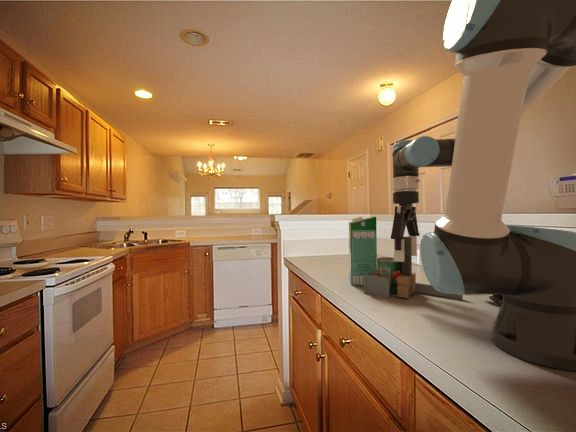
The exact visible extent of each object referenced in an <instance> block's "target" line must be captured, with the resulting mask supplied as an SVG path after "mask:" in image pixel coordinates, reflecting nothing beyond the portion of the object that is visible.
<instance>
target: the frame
mask: <svg viewBox="0 0 576 432" xmlns="http://www.w3.org/2000/svg"><path fill="white" fill-rule="evenodd" d="M415 293H418V294H419V293H420V294H424V295H429V294H430V295H431V296H435V297H436V296H437V297H443V298H448V297H449V299H455V300H461V301H462V300H463V299H464V298H463V296H464V294H463V295H458V294H449V293H441V292H439V291H437V290H436V289H435V288H434V287H433V286H432V285H431V284H427V283H419V282H416V292H415ZM363 294H368V295H374V296H379V297H384V298H390V297H391V296H390V278H387V277H380V276H377V270H374V271H372V272H370V273H367V274H365V275H364V285H363Z"/></svg>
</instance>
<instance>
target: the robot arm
mask: <svg viewBox="0 0 576 432" xmlns="http://www.w3.org/2000/svg"><path fill="white" fill-rule="evenodd" d="M442 36H443V37H442V41H443V47H444V50H446V51H447V52H450V53H451V54H454V53H455V60H454V68H455V69H456V70H457V71H458V72H459V73H460V74H461V76H462V77H463V78H462V86H461V94H460V99H459V100H460V101H459V109H458V114H457V115H458V117H457V124H456V129H455V131H456V132H455V138H440V139H439V138H437V139H435V138H433V137H431V136H428V135H423V136H419V137H416V138H415V139H406V140H399V141H396V142H394V144H393V145H392V153H391V156H392V191H393V193H392V203H393V204H395V205H396V206H394V217H393V222H392V228H391V235H390V240H393V248H394V251H393V252H394V253H393V258H394V261H400V262H404V240H403V237H405V230H406V231H407V237H411V242H412V257H417V256H418V240H417V238H418V237H419V236H421V235H420V231H419V226H418V220H417V219H418V218H417V212H416V210H417V209H416V206H413V204H418V203H419V199H420V198H419V197H420V192H419V191H418V190H419V188H420V187H419V184H420V183H421V179H419V173H420V172H419V171H420V170H419V169H420V168H441V167H442V168H443V167H445V168H446V167H450V176H449V177H450V178H449V184H448V191H447V192H448V193H447V200H446V206H445V207H446V208H445V213H444V214H443V215H442V216H440V217H438V218H437V219H436V220H435V222H434V230H433V231H429V232H428V233H427V232H426V233H425V234H423V235H422V238H421V239H420V245H419V252H420V260H421V264H422V265H421V266H422V268H423V272H424V274H425V277H426V278H427V281H428V283H429V282H430V284H429V285H432V286H433V287H434V288H435V289H436V290H437V291H439V292H441V293H449V294H458V295H463V296H464V295H492V294H493V295H503V302H502V305H500V309H499V311H498V313H497V314H496V317H495V320H494V323H493V325H492V328H491V341H492V342H493V344H494V345H495V346H497V348H499V349H501V350H502V351H503V352H506V353H507V354H510V355H512V356H514V357H517V358H518V359H521V360H524V361H527V362H530V363H533V364H535V365H540V366H544V367H547V368H552V369H558V370H563V371H571V372H576V232H575V231H573V230H572V231H571V230H563V229H555V228H554V229H553V228H546V227H535V226H534V227H533V226H523V225H512V224H511V225H510V224H505V223H504V222H503V221H502V218H503V217H502V216H503V212H504V207H505V202H506V197H507V191H508V188H509V187H508V186H509V181H510V176H511V170H512V166H513V161H514V160H513V159H514V156H515V149H516V145H517V138H518V134H519V130H520V124H521V119H522V116H523V115H524V114H525V113H526V112H527V111H529V109H530V108H531V107H532V106H533V105H534V104H535V103H537V101H538V100H539V99H540V98H541V97H542V96H543V95H544V94H545V93H546V92H548V90H549V89H550V88H551V87H552V86H554V84H556V82H557V81H558V80H560V78H561V77H562V76H564V75H565V74H566V72H567V71H568V70H569V69H570V68H575V67H576V0H452V1H451V3H450V6H449V9H448V12H447V15H446V18H445V22H444V26H443V35H442ZM493 295H492V296H493Z"/></svg>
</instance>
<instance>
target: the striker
mask: <svg viewBox="0 0 576 432" xmlns="http://www.w3.org/2000/svg"><path fill="white" fill-rule="evenodd" d="M403 240H404V262H401V267H402V274H401V275H399V276H398V277H397V296H396V297H400V298H405V299H408V298H410V297H411V296H412V295H413V294H414V293H417V292H416V283H417V280H416V278H417V276H416V275H417V273H416V272H412V271H413V269H412V267H413V264H412V263H413V261H412V260H413V259H412V257H413V256H412V242H411V237H408V236H403Z"/></svg>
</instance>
